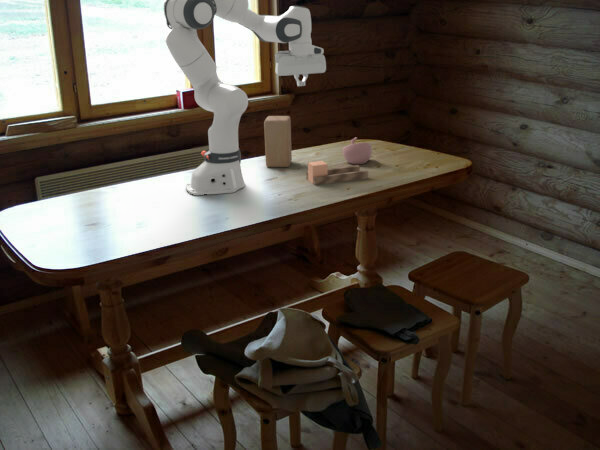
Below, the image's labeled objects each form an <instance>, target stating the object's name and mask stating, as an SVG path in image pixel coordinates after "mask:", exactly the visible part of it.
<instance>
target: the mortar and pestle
mask: <svg viewBox="0 0 600 450" xmlns="http://www.w3.org/2000/svg"><path fill="white" fill-rule="evenodd" d="M357 139H358V137H356V136H355V137H354V138H352V139H350V144H349V145H346V146H344V147H343V148H342V154H343V157H344V159H345V160H346V161H347V163H349V164H351V165H364V164H366V163H367V162H368V161H369V160H370V158H371V156H372V154H373V148H372V144H371V143H370V142H357V143H355V141H357Z"/></svg>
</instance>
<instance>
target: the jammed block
mask: <svg viewBox="0 0 600 450" xmlns="http://www.w3.org/2000/svg"><path fill="white" fill-rule="evenodd" d="M327 169H328V163H326V162H325V161H324V160H318V161H311V162H307V172H308V180H307V181H308V182H310V183H311V184H313V177H317V176H325V175H328V170H327Z"/></svg>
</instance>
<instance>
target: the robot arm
mask: <svg viewBox="0 0 600 450" xmlns="http://www.w3.org/2000/svg"><path fill="white" fill-rule="evenodd" d="M162 10H163V15H164V17H165V20H166V21H165V22H166V26H167V28H168V29H170V30H169V31H168V33H167V34H166V37H165V43H166V46H167V49H168V50H169V52H170V54H171V56H172V57H173V60H174V61H175V62H176V64H177V66H178V67H179V68H180V70H181V72H182V73H183V74H184V75H185V77H186V78H187V79H188V81H189V83H190V85H191V86H192V89H193V91H194V94H193V95H194V101H195V102H196V104H197V105H198V106H199V107H201V108H202V109H203V110H204V111H205V110H206V111H208V112H211V113H213V121H212V123H211V125H210V126H209V128H208V130H207V136H208V149H209V150H207V151H206V150H202V151H201V152H200V154H201V156H202V157H204V161H203V162H202V163H201V164H200V165H198V166H197V167H196V168H195V169H194V170H193V171H192V173H191V178H190V182H188V183H186V184H185V191H186V192H187V191H188V192H189V193H188V192H187V193H188V194H190V193H191V194H190V195H192V194H193V196H203V195H204V194H207V195H219V194H233V193H236V192H237V191H238V190H240V189H242V188H243V189H244V187H245V186H246V182H245V180H244V177H243V176H244V175H243V173H242V166H241V164H242V163H241V161H242V156H241V155H242V154H241V149H240V148H239V145H240V144H239V126H240V125H239V124H240V121H241V117H242V115H243V114H244V113H245V112H246V110H247V108H248V105H249V98H248V95H247V93H246V92H245V91H244V90H242V89H241V88H239V87H238V86H236V85H233V84H227V83H224V82H223V81H221V80H220V79H219V76H218V73H217V65H216V61H214V59H213V58H212V56H211V55H210V54H209V52H208V51H207V49H206V47H205V46H204V45H203V43H202V42H201V40H200V38H199V36H198V32H197V30H203V29H205V28H207V27H210V25H211V24H212V22H213V20H214V18H215V16H217V17H218V18H221V19H223V20H226V21H228V22H231V23H237V24H239V25H241V26H243V27H244V28H246V29H248V30H250V31H252V33H253V34H254V35H255V37H256V38H257V39H258V40H259V41H261V42H264V43H279V44H288V50H279V51H278V52H276V53H275V55H274V59H275V60H274V61H275V74H276V75H277V76H279V77H282V76H285V77H286V76H293V77H294V79H295V82H296V85H297V87H304V86H305V87H306V81H307V79H308V77H309V75H311V74H323V73H325V72H326V71H327V62H326V61H327V60H326V57H325V55H324V51H325V50H324V48H322V47H321V46H320V47H319V46H317V45H314V44H312V43H313V42H312V37H311V33H312V17H311V11H310V9H309V8H307V7H306V6H303V5H301V6H299V5H291V6H289V8H288V10H287V11H285V12H284V13H282V14H279V15H269V14H258V13H256V12H254V11H253V10H251V9H249V0H164V3H163V9H162ZM300 75H302V76H303V78H302V80H300V79H299V78H300ZM204 196H205V195H204Z"/></svg>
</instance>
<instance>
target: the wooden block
mask: <svg viewBox="0 0 600 450" xmlns="http://www.w3.org/2000/svg"><path fill="white" fill-rule="evenodd" d="M291 121H292V120H291V117H290V115H268V116H267V117H266V118H265V120H264V122H263V129H264V147H265V148H264V150H265V151H264V153H265V166H266V168H289V167H290V165H291V163H292V159H293V158H292V154H293V153H292V127H291V126H292V124H291V123H292V122H291Z"/></svg>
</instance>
